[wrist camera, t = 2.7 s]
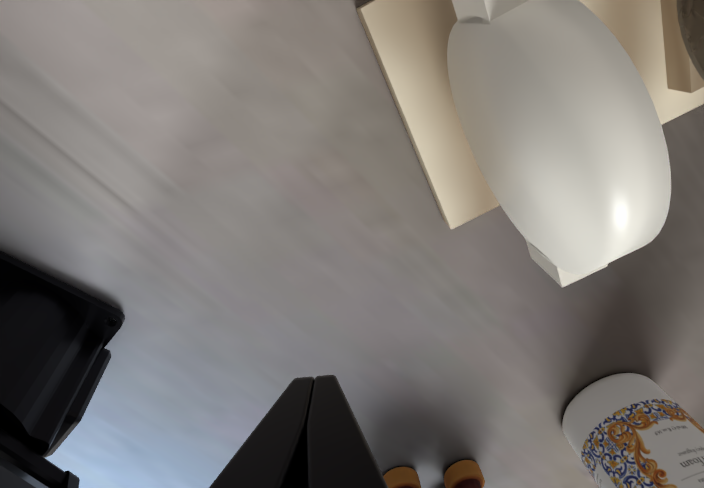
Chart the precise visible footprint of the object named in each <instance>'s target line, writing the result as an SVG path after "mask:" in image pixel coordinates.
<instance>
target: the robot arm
mask: <svg viewBox="0 0 704 488" xmlns="http://www.w3.org/2000/svg"><path fill="white" fill-rule="evenodd" d="M108 318H114V319H115V320H116V321H111V320H109V319H108ZM124 320H125V315H124V314H123V312H121V311H120V310H118V309H116V308H114V307H112V306H110V305H108V304H106V303H104V302H102V301H100V300H98V299H96V298H94V297H92V296H90V295H88V294H86V293H84V292H82V291H80V290H78V289H76V288H74V287H72V286H70V285H68V284H66V283H64V282H62V281H60V280H58V279H56V278H54V277H52V276H50V275H48V274H46V273H44V272H42V271H40V270H38V269H36V268H34V267H32V266H30V265H28V264H26V263H24V262H22V261H20V260H18V259H16V258H14V257H12V256H10V255H8V254H6V253H4V252H2V251H0V488H78V487H79V478H78V477H77V476H75V475H74V474H72V473H71V472H70V471H65V472H64V471H63V470H61V469H60V468H58V467H57V466H55V465H54V464H53V463H51V462H50V461H48V460H47V459H45V457H48V456H50V455H52V454H53V453H54V452H55V451H56V449H57V448H58V447H59V446H60V445H61V443H62V442H63V441H64V440H65V439H66V438H67V436H68V435H69V434H70V433H71V432H72V430H73V429H74V428H75V427H76V426H77V425H78V423H79V422H80V421H81V419H82V417H83V415H84V413H85V410H86V408H87V406H88V404H89V402H90V400H91V398H92V396H93V394H94V392H95V390H96V388H97V385H98V383H99V381H100V379H101V377H102V375H103V373H104V371H105V369H106V367H107V365H108V363H109V360H110V358H111V353H110V351H109V350H107V349H105V348H104V347H105V346H106V345H107V344H108V342H109V341H110V340H111V339H112V337H113V336H114V335H115V334H116V333H117V331H118V330H119V329H120V328H121V326H122V324H123V322H124ZM209 488H388V486H387V484H386V482H385V479H384V477H383V475H382V473H381V471H380V469H379V467H378V465H377V463H376V460H375V458H374V456H373V454H372V452H371V450H370V448H369V446H368V444H367V442H366V439H365V437H364V435H363V433H362V431H361V429H360V427H359V425H358V423H357V420H356V418H355V416H354V414H353V412H352V410H351V408H350V406H349V404H348V401H347V399H346V397H345V395H344V393H343V391H342V389H341V387H340V385H339V382H338V380H337V378H336V377H335V376H334V375H325V376H317V377H316V378H315V379H314V378H313V377H302V378H295V379H294V380H293V381H292V382H291V383H290V384H289V386H288V387H287V388H286V390H285V391H284V392H283V393H282V395H281V396H280V397H279V399H278V400H277V401H276V402H275V404H274V405H273V406H272V408H271V409H270V410H269V411H268V413H267V414H266V415H265V417H264V418H263V419H262V420H261V422H260V423H259V424H258V426H257V427H256V428H255V429H254V431H253V432H252V433H251V435H250V436H249V437H248V438H247V440H246V441H245V442H244V444H243V445H242V446H241V447H240V449H239V450H238V451H237V453H236V454H235V455H234V456H233V458H232V459H231V460H230V462H229V463H228V464H227V465H226V467H225V468H224V469H223V471H222V472H221V473H220V474H219V476H218V477H217V478H216V480H215V481H214V482H213V483H212V485H211V486H210V487H209Z"/></svg>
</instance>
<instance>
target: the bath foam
mask: <svg viewBox="0 0 704 488" xmlns="http://www.w3.org/2000/svg"><path fill="white" fill-rule="evenodd" d="M562 428H563V432H564V435H565V437H566V438H567V440H568V442H569V443H570V444H571V446H572V447H573V449H574V450H575V452H576V453H577V455H578V456H579V458H580V459H581V461H582V462H583V464H584V465H585V467H586V468H587V470H588V471H589V473H590V474H591V476H592V477H593V479H594V480H595V482H596V483H597V484H598V486H599V487H600V488H704V429H703V428H702V427H701V426H700V425H699V424H698V423H697V422H696V421H695V420H694V419H693V418H692V417H691V416H690V415H689V414H687V413H686V412H685V411H684V410H683V409H682V408H681V407H680V406H679V405H678V404H677V403H676V402H675V401H674V400H673V399H672V398H671V397H670V396H668V395H667V394H666V393H665V392H664V391H663V390H662V389H661V388H660V387H659V386H658V385H657V384H656V383H655V382H654V381H652V380H651V379H650V378H648V377H646V376H643V375H640V374H635V373H621V374H615V375H611V376H608V377H605V378H602V379H600V380H598V381H596V382H594V383H592V384H591V385H589V386H587V387H586V388H585V389H583V390H582V391H581V392H580V393H578V394H577V395H576V396H575V397H574V399H573V400H572V401H571V402H570V404H569V405H568V407H567V408H566V411H565V414H564V417H563V422H562Z"/></svg>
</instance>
